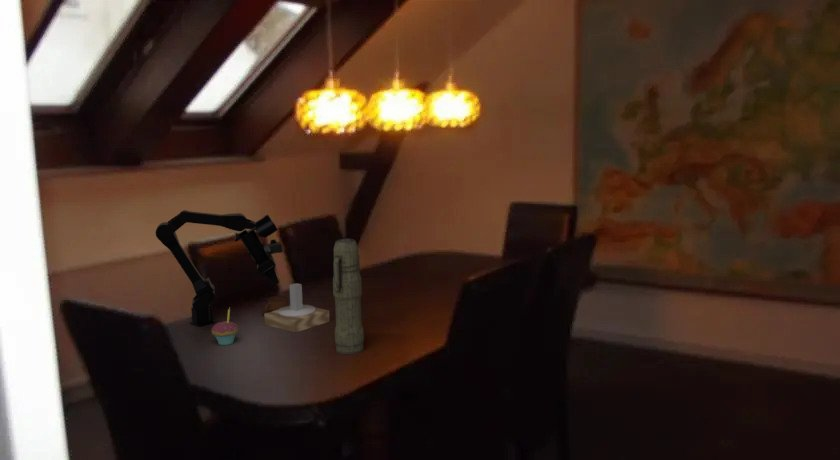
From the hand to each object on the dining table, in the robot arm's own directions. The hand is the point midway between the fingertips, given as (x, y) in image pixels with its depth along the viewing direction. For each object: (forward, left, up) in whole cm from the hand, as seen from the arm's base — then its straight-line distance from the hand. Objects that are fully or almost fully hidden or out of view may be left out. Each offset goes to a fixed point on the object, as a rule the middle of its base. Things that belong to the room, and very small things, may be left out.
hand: (276, 280), depth 270 cm
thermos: (-12, -49, -14) cm, 52 cm away
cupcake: (-31, -11, -14) cm, 36 cm away
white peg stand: (-2, -13, -9) cm, 16 cm away
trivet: (-2, -13, -13) cm, 18 cm away
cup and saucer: (+2, +2, -14) cm, 14 cm away
